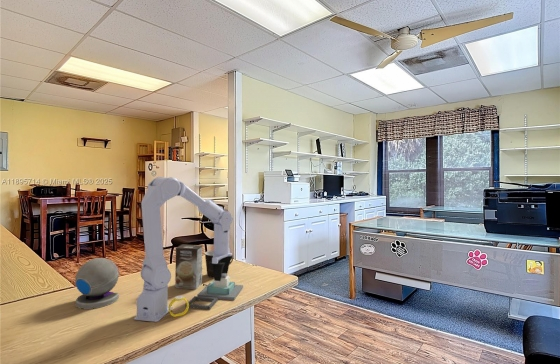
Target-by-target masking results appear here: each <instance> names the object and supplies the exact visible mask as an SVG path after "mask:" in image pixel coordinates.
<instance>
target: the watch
mask: <svg viewBox="0 0 560 364" xmlns="http://www.w3.org/2000/svg"><path fill="white" fill-rule="evenodd" d="M181 301H185V302H186V304H187V307H186V306H185V309H184V311H183V312H180V313H175V314H174V313H173V312H172V311H171V310H172V309H171V307H173V305H174V303H176V302H181ZM188 302H189V301H188V300H187V298H186V297H184V295H176V296H174V298H173V299H172V300H171V301H170V303H168V307H169V312H168V313H169V314H170V316H172V317H174V318H177V317H182V316H185V315H186V313H187V312H188V311H189V309H190V308H189V303H188Z"/></svg>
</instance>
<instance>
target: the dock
mask: <svg viewBox="0 0 560 364" xmlns="http://www.w3.org/2000/svg"><path fill="white" fill-rule="evenodd" d="M243 289H244V285H243V284H236V282H235V281H230V286H229V287H228V288H223V287H214V280H213V281H212V282H209V283H208V284H207V285H205V287H204V288H202V289H201V291H200V292H198V293H197V294H196V296H199V297H212V298H218V300H225V301H226V300H227V301H235V300H236V298H237V297H238V295H239V294H240V293H241V292H242V290H243Z"/></svg>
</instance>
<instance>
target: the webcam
mask: <svg viewBox="0 0 560 364" xmlns="http://www.w3.org/2000/svg"><path fill="white" fill-rule="evenodd" d="M119 275H120V271H119V267H118V266H117V264H116V263H115V262H114V261H112V260H111V259H109V258H104V257H95V258H92V259H89V260H88V261H86V262H85V263H83V264H82V265H81V266H80V267H79V268H78V271H77V273H76V275H75V279H74V281H75V282H74V283H75V287H76V289H77V290H78V292H79V293H81V295H79V296H78V297H77V298H76V299H75V307H76V306H77V307H79V308H78V309H81V308H84V309H83V310H93V308H94V309H99V308H102V307H107V306H108V305H109V306H110V305H111V304H114V303H116V302H117V301H118V300H119V299H120V294H119V292H113V291H111V290H113V288H115V287H116V285H117V284H118V281H119ZM77 307H76V308H77Z"/></svg>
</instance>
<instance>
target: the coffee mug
mask: <svg viewBox="0 0 560 364" xmlns="http://www.w3.org/2000/svg"><path fill="white" fill-rule="evenodd" d="M213 253H214V250H209V251H205V252H204V256H205V257H204V258H205V266H206V275H207V277H208V278H213V279H214V276H213V272H212V269H211V267H210V265H209V262H210V261H212V258H213ZM233 260H234V258H233V257H232V259H231V261H230V264H229V266H230V265H231V264H232V263H233Z"/></svg>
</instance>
